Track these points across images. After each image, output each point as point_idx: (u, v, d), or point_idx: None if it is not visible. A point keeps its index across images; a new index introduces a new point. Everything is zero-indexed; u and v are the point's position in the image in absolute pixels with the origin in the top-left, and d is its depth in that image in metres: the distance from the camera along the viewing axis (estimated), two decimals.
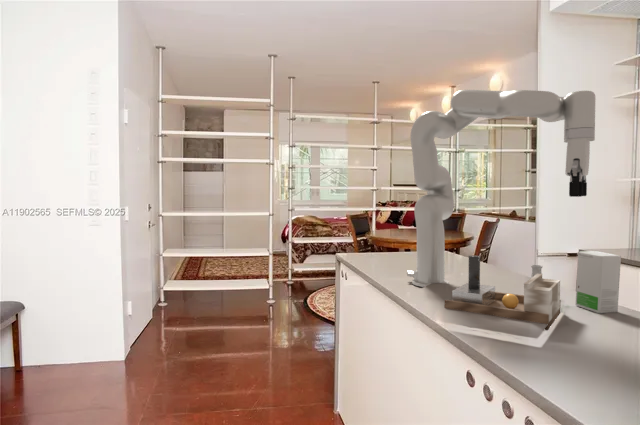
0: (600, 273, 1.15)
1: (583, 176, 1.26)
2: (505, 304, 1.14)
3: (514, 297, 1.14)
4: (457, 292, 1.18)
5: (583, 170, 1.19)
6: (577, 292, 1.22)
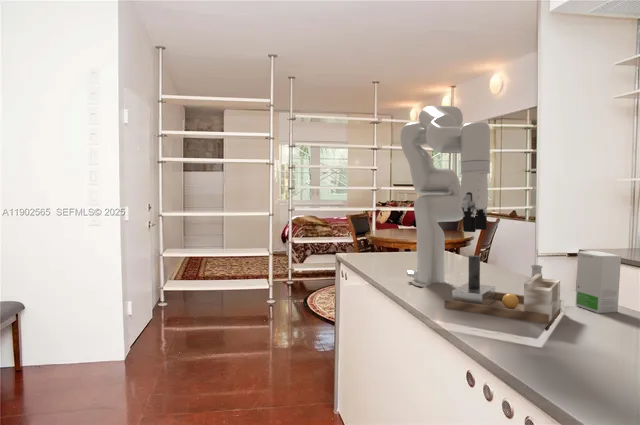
0: (600, 273, 1.15)
1: (482, 209, 1.22)
2: (505, 304, 1.14)
3: (514, 297, 1.14)
4: (457, 292, 1.18)
5: (475, 205, 1.15)
6: (577, 292, 1.22)
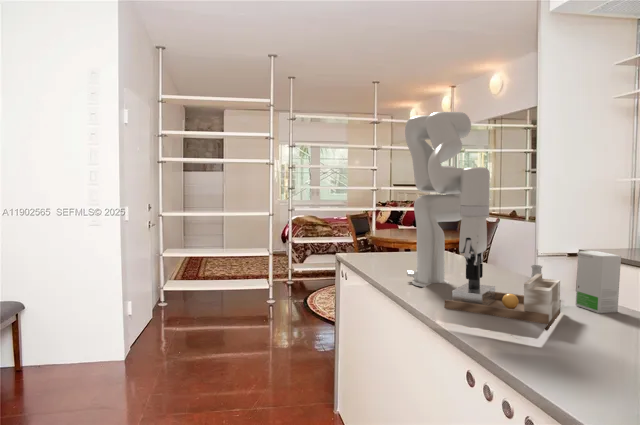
0: (600, 273, 1.15)
1: (479, 254, 1.21)
2: (505, 304, 1.14)
3: (514, 297, 1.14)
4: (457, 292, 1.18)
5: (475, 250, 1.15)
6: (577, 292, 1.22)
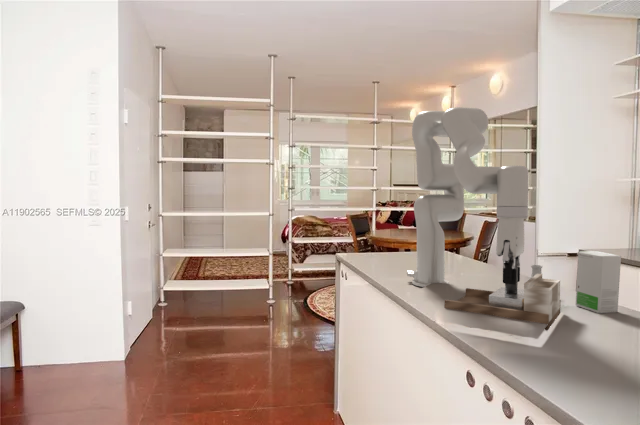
0: (600, 273, 1.15)
1: (516, 257, 1.15)
2: None
3: None
4: (494, 297, 1.12)
5: (513, 253, 1.09)
6: (577, 292, 1.22)
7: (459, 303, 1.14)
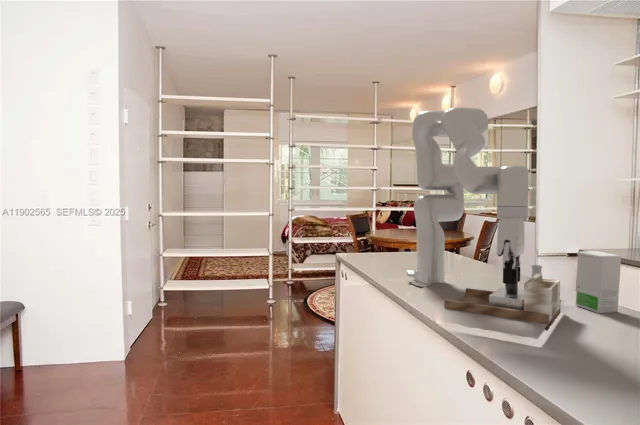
0: (600, 273, 1.15)
1: (517, 257, 1.15)
2: None
3: None
4: (494, 297, 1.12)
5: (514, 253, 1.09)
6: (577, 292, 1.22)
7: (459, 303, 1.14)
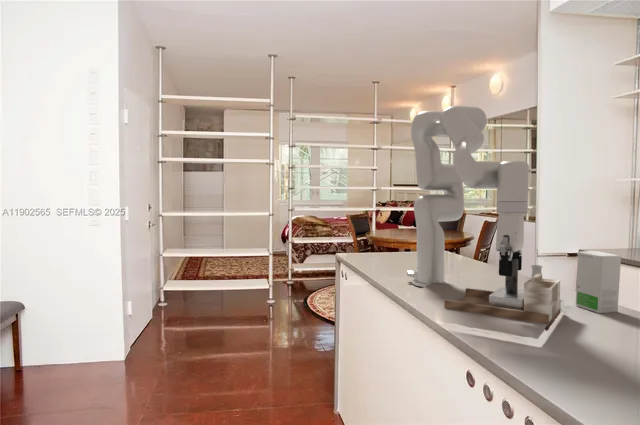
0: (600, 273, 1.15)
1: (517, 249, 1.17)
2: None
3: None
4: (494, 297, 1.12)
5: (513, 248, 1.10)
6: (577, 292, 1.22)
7: (459, 303, 1.14)
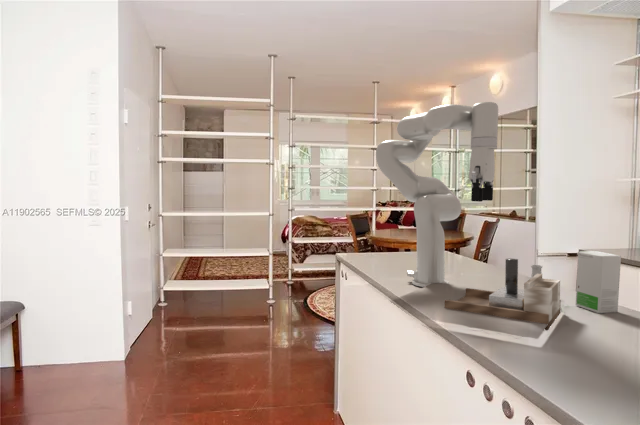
0: (600, 273, 1.15)
1: (489, 182, 1.35)
2: None
3: None
4: (494, 297, 1.12)
5: (483, 177, 1.27)
6: (577, 292, 1.22)
7: (459, 303, 1.14)
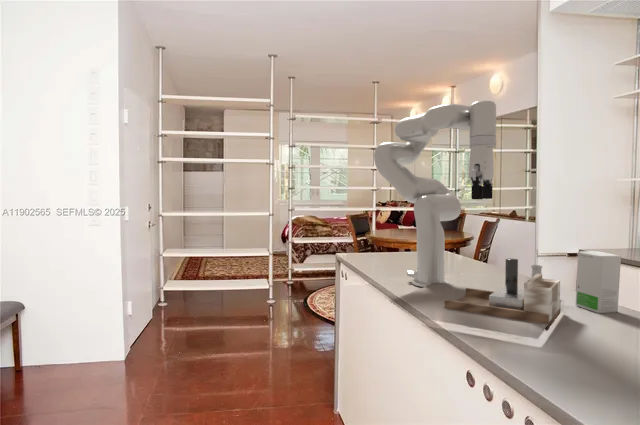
0: (600, 273, 1.15)
1: (488, 180, 1.35)
2: None
3: None
4: (494, 297, 1.12)
5: (483, 175, 1.28)
6: (577, 292, 1.22)
7: (459, 303, 1.14)
